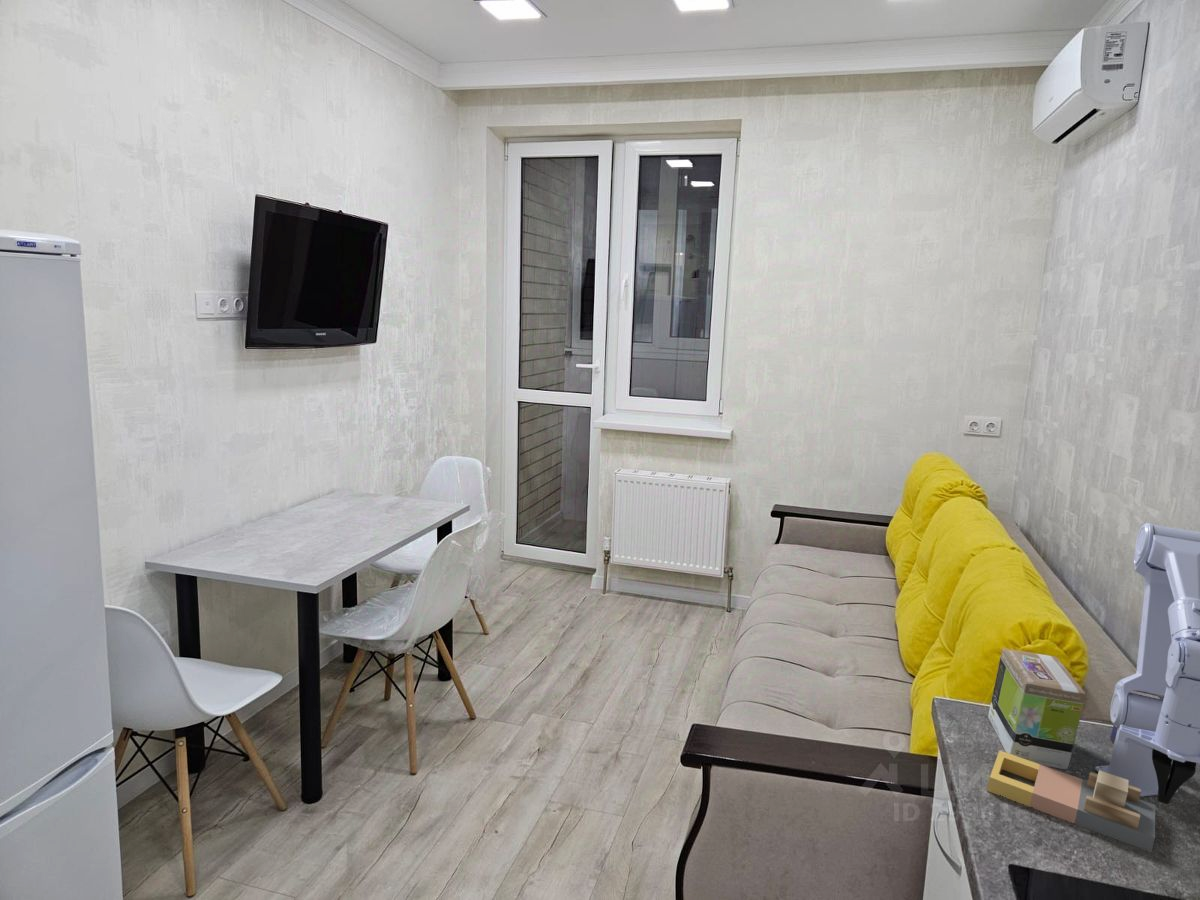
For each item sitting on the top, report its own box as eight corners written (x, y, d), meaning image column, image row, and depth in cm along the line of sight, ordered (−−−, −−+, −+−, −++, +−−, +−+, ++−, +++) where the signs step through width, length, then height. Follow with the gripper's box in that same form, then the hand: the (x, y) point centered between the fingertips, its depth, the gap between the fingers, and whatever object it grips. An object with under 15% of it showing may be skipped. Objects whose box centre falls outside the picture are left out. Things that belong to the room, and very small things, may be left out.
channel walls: (1138, 800, 129) (1141, 789, 129) (1137, 829, 122) (1140, 817, 121) (1087, 782, 133) (1090, 771, 132) (1083, 809, 125) (1086, 798, 125)
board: (1151, 818, 129) (1155, 804, 128) (1151, 852, 120) (1155, 837, 120) (996, 763, 141) (999, 750, 140) (987, 790, 132) (989, 777, 132)
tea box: (1070, 771, 140) (1088, 693, 137) (1008, 760, 142) (1024, 683, 139) (1042, 726, 154) (1058, 654, 151) (986, 716, 156) (1000, 645, 153)
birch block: (1122, 802, 128) (1128, 780, 127) (1122, 815, 125) (1127, 792, 124) (1093, 792, 130) (1098, 770, 129) (1092, 804, 127) (1097, 781, 126)
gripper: (1125, 711, 121) (1106, 792, 124) (1247, 748, 113) (1224, 834, 116) (1126, 693, 127) (1108, 771, 129) (1243, 727, 119) (1220, 809, 122)
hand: (1162, 799), depth 123 cm, fingers closed
